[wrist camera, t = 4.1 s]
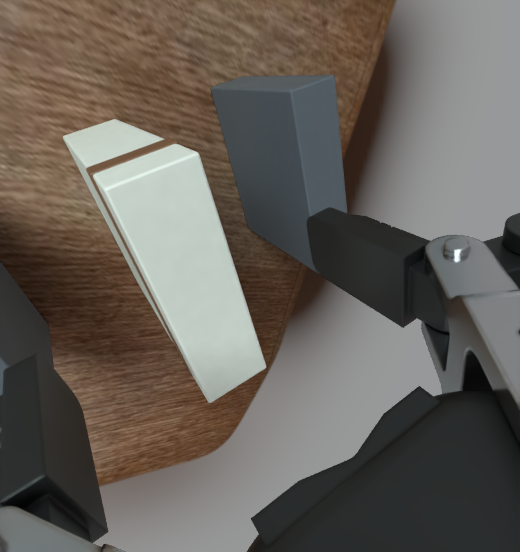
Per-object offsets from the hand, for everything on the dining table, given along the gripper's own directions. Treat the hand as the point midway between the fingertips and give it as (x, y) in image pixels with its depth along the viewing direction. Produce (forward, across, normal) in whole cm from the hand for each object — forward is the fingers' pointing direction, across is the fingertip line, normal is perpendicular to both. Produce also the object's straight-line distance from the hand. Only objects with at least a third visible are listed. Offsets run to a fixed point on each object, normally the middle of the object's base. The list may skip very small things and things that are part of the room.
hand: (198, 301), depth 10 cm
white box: (+10, 0, 0) cm, 10 cm away
